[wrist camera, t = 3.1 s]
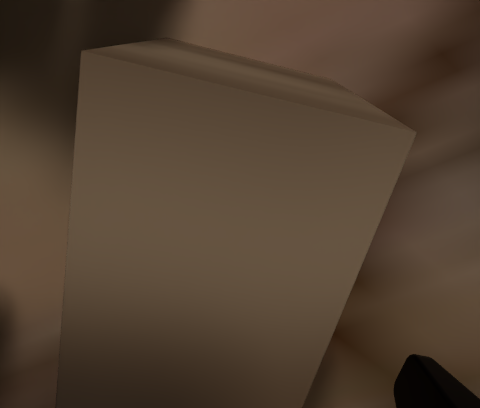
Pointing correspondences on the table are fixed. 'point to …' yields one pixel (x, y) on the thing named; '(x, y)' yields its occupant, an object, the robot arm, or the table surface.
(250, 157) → the bar
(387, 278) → the table surface
